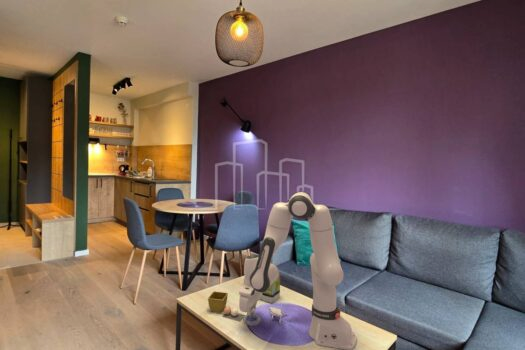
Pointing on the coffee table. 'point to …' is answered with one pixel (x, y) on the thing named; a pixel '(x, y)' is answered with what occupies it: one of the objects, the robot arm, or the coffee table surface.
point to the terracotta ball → (227, 310)
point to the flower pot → (217, 301)
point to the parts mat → (234, 317)
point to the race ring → (252, 321)
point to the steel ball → (252, 310)
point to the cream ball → (234, 312)
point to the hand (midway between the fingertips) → (251, 312)
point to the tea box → (272, 292)
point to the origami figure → (276, 312)
